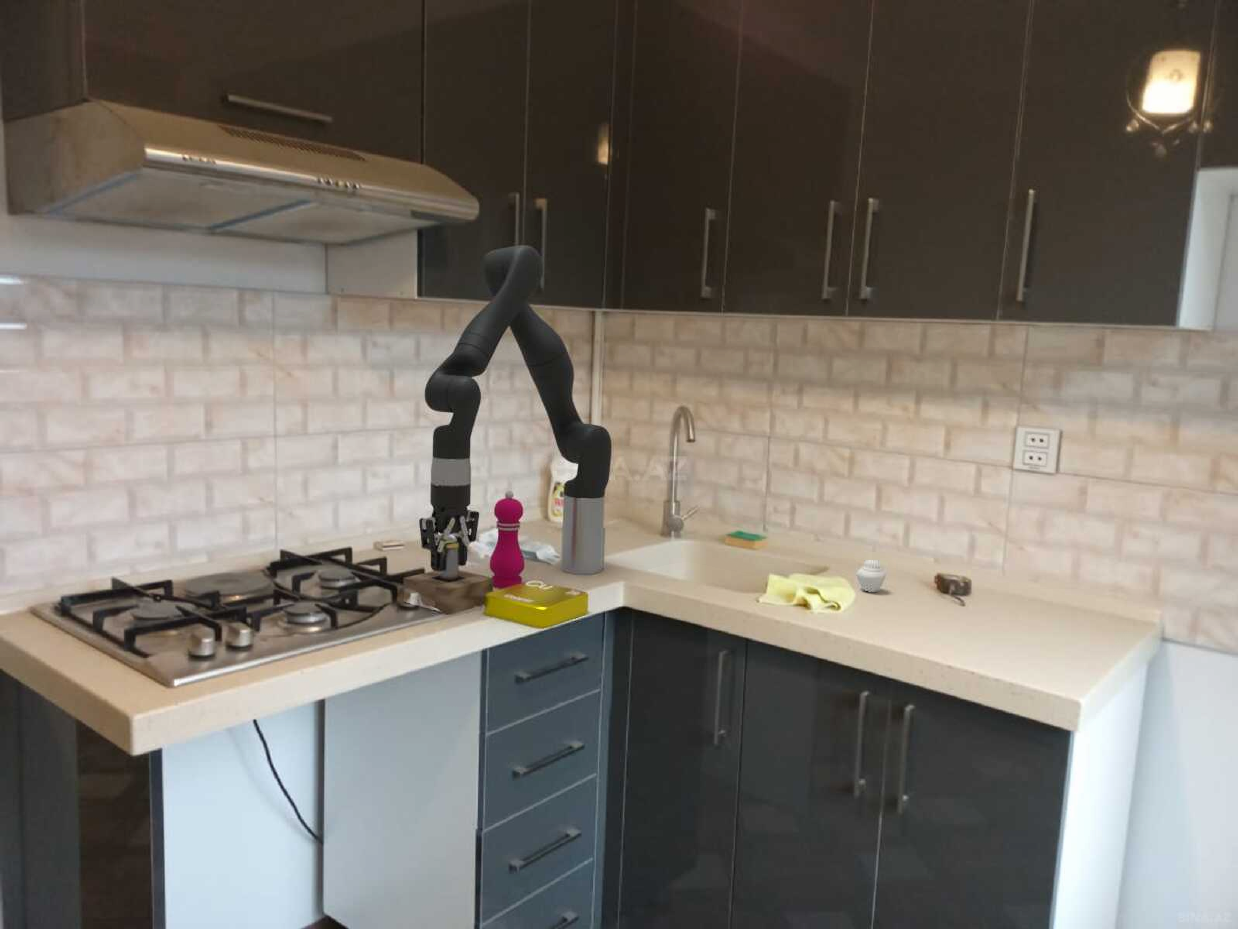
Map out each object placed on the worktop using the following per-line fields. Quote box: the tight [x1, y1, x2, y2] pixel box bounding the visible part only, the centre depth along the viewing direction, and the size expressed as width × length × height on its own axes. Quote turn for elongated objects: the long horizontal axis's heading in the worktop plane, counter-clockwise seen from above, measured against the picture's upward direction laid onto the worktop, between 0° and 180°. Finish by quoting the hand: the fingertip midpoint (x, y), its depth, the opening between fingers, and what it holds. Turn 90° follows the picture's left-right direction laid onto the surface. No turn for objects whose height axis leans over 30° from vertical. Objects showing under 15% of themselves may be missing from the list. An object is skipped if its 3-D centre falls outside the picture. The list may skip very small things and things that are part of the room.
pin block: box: [402, 569, 494, 616], centre depth 181 cm, size 12×12×5 cm
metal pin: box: [439, 539, 460, 583], centre depth 181 cm, size 4×4×12 cm
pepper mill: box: [489, 490, 525, 589], centre depth 196 cm, size 7×7×20 cm
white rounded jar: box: [856, 558, 886, 593], centre depth 206 cm, size 6×6×7 cm
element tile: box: [484, 580, 589, 629], centre depth 177 cm, size 15×15×5 cm
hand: (448, 567), depth 181 cm, fingers open, 5 cm apart
